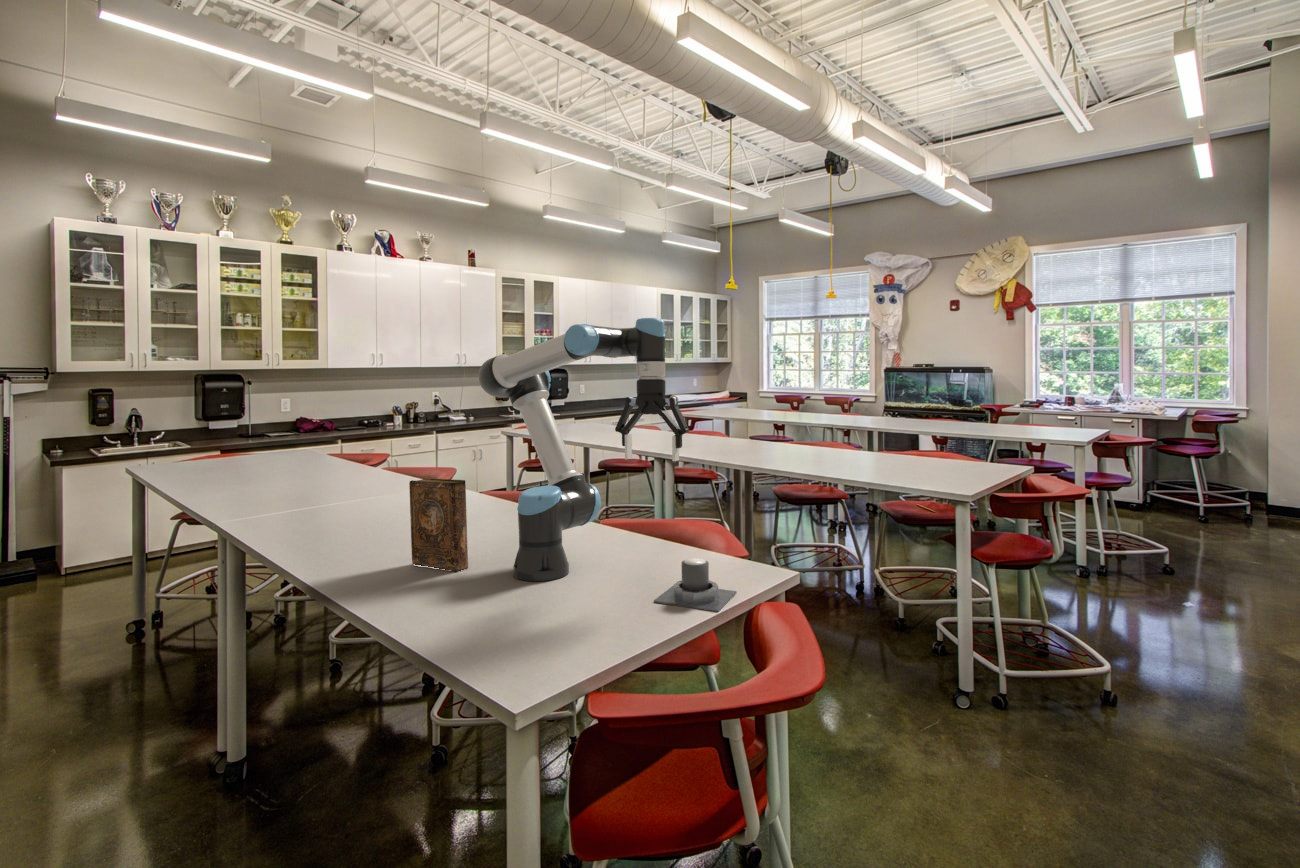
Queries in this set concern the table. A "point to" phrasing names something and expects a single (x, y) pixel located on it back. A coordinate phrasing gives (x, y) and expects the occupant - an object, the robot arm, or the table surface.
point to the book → (439, 523)
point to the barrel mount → (696, 597)
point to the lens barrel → (695, 574)
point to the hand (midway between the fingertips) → (651, 459)
